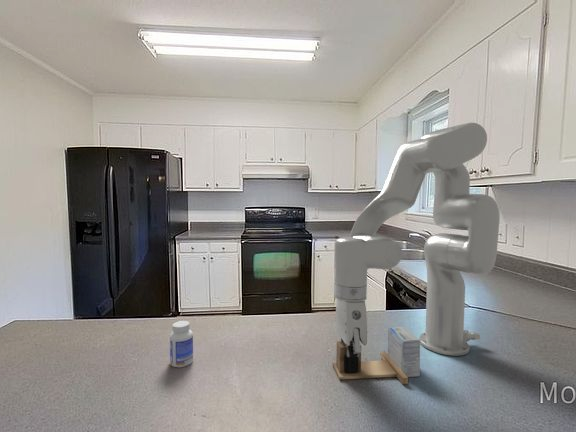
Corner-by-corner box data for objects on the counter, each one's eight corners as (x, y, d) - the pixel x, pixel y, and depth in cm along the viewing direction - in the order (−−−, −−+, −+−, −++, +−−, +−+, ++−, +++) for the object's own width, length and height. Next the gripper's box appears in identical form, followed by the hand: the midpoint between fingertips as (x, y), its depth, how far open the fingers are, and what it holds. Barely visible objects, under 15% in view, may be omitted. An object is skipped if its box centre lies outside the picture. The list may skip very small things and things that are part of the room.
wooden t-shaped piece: (384, 356, 79) (385, 331, 79) (407, 384, 67) (408, 354, 67) (329, 359, 77) (330, 333, 77) (343, 387, 65) (343, 357, 65)
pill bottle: (197, 358, 77) (197, 321, 77) (183, 369, 72) (183, 329, 72) (179, 355, 79) (179, 318, 78) (165, 365, 74) (164, 326, 73)
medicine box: (420, 377, 70) (421, 340, 70) (401, 378, 70) (402, 341, 69) (403, 359, 78) (404, 326, 78) (386, 360, 77) (387, 327, 77)
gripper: (379, 302, 63) (377, 388, 64) (354, 281, 79) (352, 350, 80) (344, 302, 62) (342, 390, 63) (326, 282, 79) (324, 351, 79)
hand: (348, 367), depth 72 cm, fingers closed on wooden t-shaped piece, 3 cm apart
